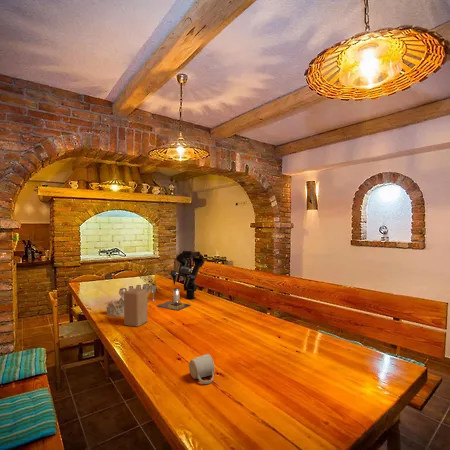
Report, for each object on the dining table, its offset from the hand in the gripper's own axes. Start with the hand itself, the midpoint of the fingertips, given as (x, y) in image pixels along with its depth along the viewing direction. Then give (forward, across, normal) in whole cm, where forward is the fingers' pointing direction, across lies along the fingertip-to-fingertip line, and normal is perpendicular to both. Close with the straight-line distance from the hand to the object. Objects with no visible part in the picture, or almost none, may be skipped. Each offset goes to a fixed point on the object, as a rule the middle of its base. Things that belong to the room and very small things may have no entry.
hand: (180, 286), depth 213 cm
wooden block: (+32, -25, -24) cm, 47 cm away
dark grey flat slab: (+14, -1, +2) cm, 15 cm away
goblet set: (+15, -26, +19) cm, 35 cm away
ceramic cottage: (+26, -35, 0) cm, 44 cm away
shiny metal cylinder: (+15, 0, -4) cm, 16 cm away
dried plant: (+2, -22, +46) cm, 51 cm away
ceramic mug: (+52, +3, -91) cm, 105 cm away
